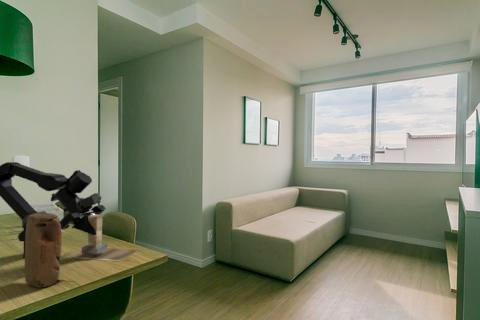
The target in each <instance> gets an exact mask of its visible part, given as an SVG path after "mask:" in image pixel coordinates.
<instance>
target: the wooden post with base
mask: <svg viewBox="0 0 480 320" xmlns="http://www.w3.org/2000/svg"><path fill="white" fill-rule="evenodd" d="M89 223H90V224H91V225H92V227H93V228H94V229H95V231H96V233H97V234H96V235H92V234H89V233H87V234H88V235H87V244H86V245H84V246H81V251H82V253H87V254H99V253H101V252H102V251H104V250H106V249H107V248H108V243H107V242H102V241H103V231H102V230H103V214H100V215H97V214H94V215H91V216H89Z"/></svg>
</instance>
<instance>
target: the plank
mask: <svg viewBox="0 0 480 320" xmlns="http://www.w3.org/2000/svg"><path fill="white" fill-rule="evenodd" d="M137 251H138V249H130V248H129V249H127V248H126V249H125V248H113V247H112V248H111V247H110V248H109V247H107V249H106V250H104V251H102V252H101V253H99V254H87V253H82V250H81V251H79V252H77V253H75V254H72V255H71V256H69V257H68V259H77V260H93V261H105V262H106V261H107V262H119V263H121V262H123V261H124V260H126V259H127V258H129V257H130V256H132V255H133V254H135V253H136V252H137Z"/></svg>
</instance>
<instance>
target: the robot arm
mask: <svg viewBox="0 0 480 320" xmlns="http://www.w3.org/2000/svg"><path fill="white" fill-rule="evenodd" d="M15 176H16V177H19V178H20V179H21V178H22V179H24V180H27V181H30V182H32V183H35V184H37V186H38V187H39V188H40V189H42V190H44V191H46V192H52V191H53V192H54V191H56V192H54V193H51V197H50V202H55V201H58V202H59V203H60V204H61V205H62V207H63V208H64V209H62V210H63V213H67V212H68V213H67V214H66V215H64V216H63V219H62V220H61V221H60V225H61V229H62V230H63V231H64V230H66V229H69V228H70V224H71V223H72V224H73V226H72V227H71V229H75V230H79V231H81V232H84V233H86V234H88V233H89V234H92V235H96V234H97V233H96V231H95V229H94V228H93V227H92V225H91V224H90V223H89V216H91V215H94V214H97V215H102V213H103V212H104V211H105V210H106V209H107V208H106V207H105V205H103V204H100V203H101V202H102V201H101V200H102V196H101V195H100V194H99V193H97V192H95V193H93V194H91V195H89V196H88V197H80V196H78V195H77V194H81V193H83V192H84V191H85V189H87V187H88V186H90V185H91V183H92V182H93V179H92V178H91V176H90V175H88V174H87V173H84V172H82V171H81V170H77V169H76V170H74V172H72V174H71V175H70V177H66V176H65V175H64V174H62V173H61V174H60V173H52V172H44V171H41V170H39V169H37V168H36V169H35V168H32V167H29V166H27V165H24V164H21V163H20V162H16V161H14V162H13V161H12V162H11V161H10V162H9V161H8V162H5V163H2V164H0V198H1V199H2V200H3V201H4V202H5V203H6V204H7V205H8V207H10V209H12V211H14V213H15V214H16V215H17V216H18V217H19V218H20V219H21V227H22V228H23V230H22V231H20V233H18V235H17V238H18V241H19V242H23V254H22V259H25V236H26V223H27V217H28V216H29V215H34V214H47V213H46V212H45V211H42V212H37V211H35V210H34V209H33V208H32V207H31V205H32V204H30V203H29V202H28V201H27V200H26V198H25V197H24V196H22V195H21V193H19V191H18V190H17V189H16V188H15V187H14V186H13V185H12V182H13V181H12V180H13V179H12V178H14V177H15ZM96 204H98V205H96ZM102 232H104V230H103V229H102Z"/></svg>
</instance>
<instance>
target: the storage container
mask: <svg viewBox="0 0 480 320" xmlns="http://www.w3.org/2000/svg"><path fill="white" fill-rule="evenodd" d="M30 205H31V207H32V208H33V209H34V210H35V211H37V212H42V211H45V212H46V213H51V214H55V215H57V216H58V217H59V220H60V221H61V220H62V219H63V218H64V211H63V210H64V209H62V208H61V207H58V206H57V205H56V204H55V203H53V202H51V203H43V204H42V203H40V204H30ZM61 231H62V234H64V230H62V229H61Z"/></svg>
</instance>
